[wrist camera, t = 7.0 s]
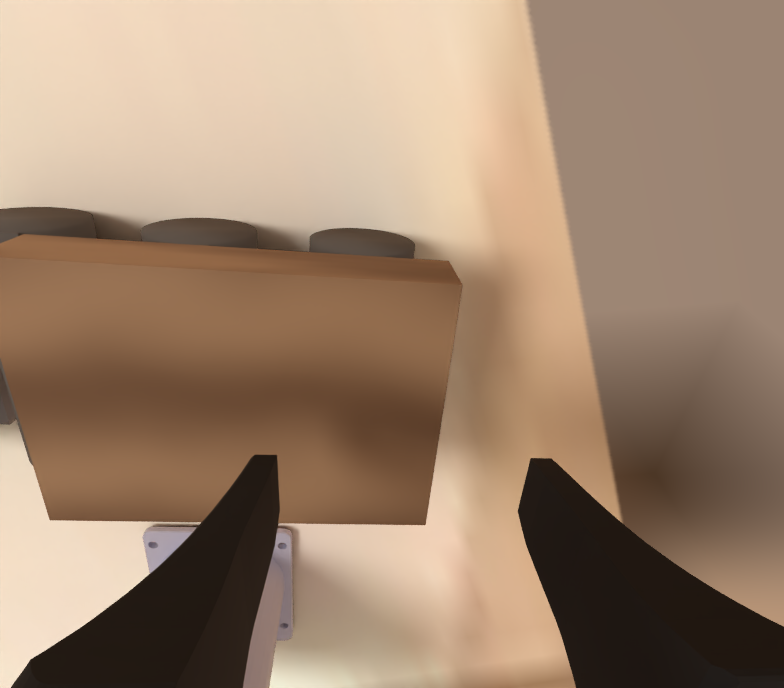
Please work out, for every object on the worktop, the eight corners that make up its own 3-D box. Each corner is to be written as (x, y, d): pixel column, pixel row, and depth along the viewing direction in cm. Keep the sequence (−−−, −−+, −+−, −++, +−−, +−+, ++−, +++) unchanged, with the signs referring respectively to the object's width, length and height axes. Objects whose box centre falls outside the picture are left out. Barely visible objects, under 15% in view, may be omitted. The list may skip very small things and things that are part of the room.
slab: (418, 481, 21) (425, 525, 19) (84, 473, 20) (50, 520, 18) (448, 261, 17) (462, 284, 15) (24, 233, 16) (-32, 255, 14)
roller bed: (390, 426, 25) (396, 480, 21) (-126, 409, 23) (-216, 467, 19) (409, 232, 21) (420, 259, 17) (-228, 188, 18) (-370, 209, 15)
